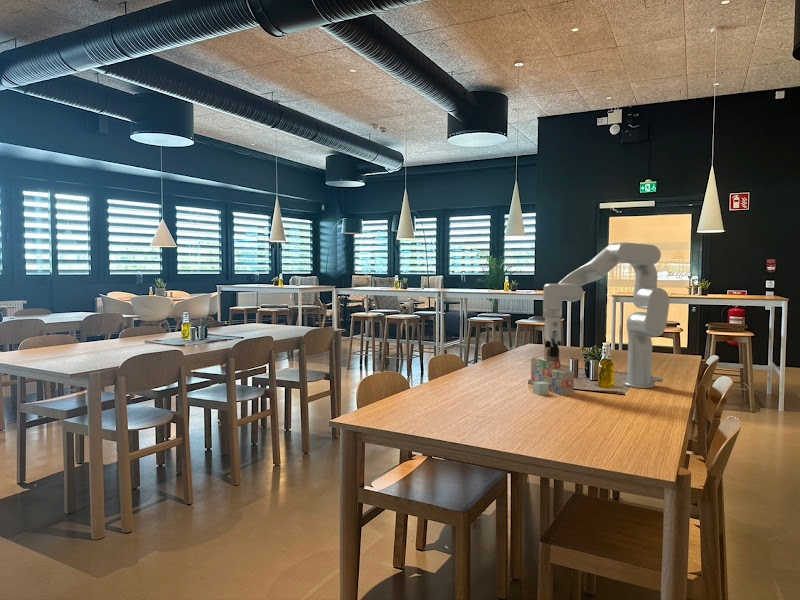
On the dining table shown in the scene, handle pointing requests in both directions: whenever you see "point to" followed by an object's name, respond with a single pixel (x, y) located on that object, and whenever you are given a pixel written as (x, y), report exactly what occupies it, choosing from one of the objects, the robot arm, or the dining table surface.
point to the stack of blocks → (552, 375)
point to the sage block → (541, 388)
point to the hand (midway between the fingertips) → (551, 354)
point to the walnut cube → (547, 355)
